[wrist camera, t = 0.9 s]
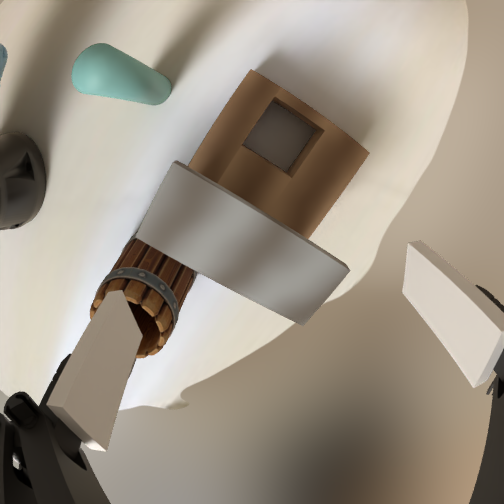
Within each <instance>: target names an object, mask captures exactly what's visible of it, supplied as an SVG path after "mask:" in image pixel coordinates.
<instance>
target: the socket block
mask: <svg viewBox="0 0 504 504" xmlns="http://www.w3.org/2000/svg"><path fill="white" fill-rule="evenodd" d="M271 101H274V102H275V103H277V104H278V105H280V106H281V107H283V108H285V109H286V110H288V111H289V112H291V113H292V114H294V115H295V116H297V117H298V118H300V119H301V120H302V121H304V122H305V123H307V124H308V125H310V126H311V127H312V128H314V129H315V130H316V131H315V132H314V134H313V135H312V137H311V138H310V140H309V141H308V142H307V144H306V145H305V147H304V148H303V150H302V151H301V153H300V154H299V155H298V157H297V158H296V160H295V161H294V163H293V164H292V166H291V167H290V168H289V170H288V171H287V173H286V172H285V171H283V170H282V169H280V168H279V167H277V166H276V165H274V164H273V163H271V162H269V161H268V160H266V159H265V158H263V157H262V156H260V155H258V154H257V153H255V152H254V151H252V150H250V149H249V148H247V147H245V146H244V145H242V144H243V142H244V141H245V139H246V138H247V136H248V135H249V133H250V132H251V130H252V129H253V127H254V126H255V124H256V123H257V121H258V120H259V118H260V117H261V115H262V114H263V113H264V111H265V110H266V108H267V107H268V105H269V104H270V102H271ZM368 155H369V152H368V151H367V150H366V149H365V148H364V147H362V146H361V145H360V144H359V143H358V142H356V141H355V140H354V139H353V138H351V137H350V136H349V135H348V134H346V133H345V132H344V131H343V130H341V129H340V128H339V127H337V126H336V125H335V124H333V123H332V122H331V121H329V120H328V119H327V118H325V117H324V116H323V115H321V114H320V113H318V112H317V111H316V110H314V109H313V108H311V107H310V106H309V105H307V104H306V103H304V102H303V101H301V100H300V99H298V98H297V97H295V96H294V95H292V94H291V93H289V92H288V91H286V90H285V89H283V88H282V87H280V86H278V85H277V84H275V83H274V82H272V81H270V80H269V79H267V78H265V77H264V76H262V75H260V74H259V73H257V72H255V71H253V70H252V69H251V70H250V71H249V72H248V74H247V75H246V77H245V78H244V79H243V81H242V82H241V84H240V85H239V86H238V88H237V89H236V91H235V92H234V94H233V95H232V97H231V98H230V100H229V101H228V103H227V104H226V106H225V107H224V109H223V110H222V112H221V113H220V115H219V116H218V118H217V119H216V121H215V122H214V124H213V125H212V127H211V129H210V130H209V132H208V133H207V135H206V137H205V138H204V140H203V142H202V143H201V145H200V146H199V148H198V150H197V151H196V153H195V155H194V156H193V158H192V160H191V162H190V163H189V165H188V166H186V165H184V164H182V163H181V162H179V161H177V160H176V161H175V162H173V163H172V165H171V167H170V169H169V170H168V172H167V174H166V176H165V178H164V180H163V182H162V184H161V185H160V187H159V189H158V191H157V193H156V195H155V197H154V199H153V201H152V203H151V205H150V207H149V209H148V211H147V213H146V215H145V217H144V219H143V221H142V224H141V226H140V228H139V230H138V232H137V234H136V236H135V237H136V238H138V239H140V240H141V241H143V242H145V243H147V244H148V245H150V246H152V247H154V248H155V249H157V250H159V251H161V252H162V253H164V254H166V255H168V256H170V257H171V258H173V259H175V260H177V261H179V262H180V263H182V264H184V265H186V266H188V267H189V268H191V269H193V270H195V271H197V272H199V273H201V274H202V275H204V276H206V277H208V278H210V279H212V280H214V281H215V282H217V283H219V284H221V285H223V286H225V287H227V288H229V289H231V290H233V291H234V292H236V293H238V294H240V295H242V296H244V297H246V298H248V299H250V300H252V301H254V302H256V303H258V304H260V305H262V306H264V307H266V308H268V309H270V310H272V311H274V312H276V313H278V314H280V315H282V316H284V317H286V318H288V319H290V320H292V321H294V322H296V323H298V324H300V325H302V326H303V325H304V324H305V323H306V322H307V321H308V320H309V319H310V318H311V316H312V315H313V314H314V313H315V312H316V311H317V310H318V309H319V307H320V306H321V305H322V304H323V303H324V302H325V300H326V299H327V298H328V297H329V296H330V295H331V293H332V292H333V291H334V290H335V289H336V287H337V286H338V285H339V284H340V283H341V281H342V280H343V279H344V278H345V277H346V275H347V274H348V273H349V272H350V269H349V268H348V266H347V265H346V264H345V263H344V262H342V261H340V260H339V259H337V258H336V257H334V256H333V255H331V254H330V253H328V252H327V251H325V250H324V249H322V248H321V247H319V246H318V245H316V244H314V243H313V242H311V241H310V240H308V239H309V237H310V236H311V235H312V233H313V232H314V231H315V229H316V228H317V227H318V225H319V224H320V222H321V221H322V220H323V218H324V217H325V216H326V214H327V213H328V211H329V210H330V209H331V207H332V206H333V205H334V203H335V202H336V200H337V199H338V198H339V196H340V195H341V193H342V192H343V191H344V189H345V188H346V186H347V185H348V184H349V182H350V181H351V179H352V178H353V176H354V175H355V174H356V172H357V171H358V169H359V168H360V166H361V165H362V164H363V162H364V161H365V159H366V158H367V156H368Z"/></svg>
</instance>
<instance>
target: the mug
mask: <svg viewBox="0 0 504 504" xmlns="http://www.w3.org/2000/svg"><path fill="white" fill-rule="evenodd" d="M136 234H137V233H136ZM136 234H135V235H133V236H132V237H131V238H130V240H129V241H128V243H127V244H126V245H125V247H124V248H123V250H122V253H121V255H120V257H119V259H118V260H117V262H116V263H115V265H114V267H113V268H112V270H111V271H110V273H109V274H108V275H107V276H106V277H105V279H104V280H103V282H102V283H101V285H100V286H99V288H98V290H97V292H96V295H95V299H94V300H93V303H92V305H91V309H90V319H92V318H93V316H94V314H95V313H96V311H97V309H98V308H99V306H100V305H101V303H102V301H103V300H104V298H105V297H106V295H107V293H108V292H111V291H118V290H122V291H123V293H124V296H125V298H126V300H127V303H128V305H129V307H130V309H131V312H132V314H133V316H134V318H135V321H136V323H137V325H138V327H139V329H140V331H141V333H142V336H143V337H142V339H141V342H140V345H139V348H138V351H137V354H136V356H135V359H134V362H133V365H132V368H131V371H130V374H131V372H132V369H133V367H134V364H135V361H136V358H145V357H146V356H148V355H155V354H156V353H158V352H159V351H160V350H161V349H162V348H163V346H164V345H165V344H166V342H167V340H168V338H169V337H170V336H171V334H172V332H173V330H174V328H175V325H176V323H177V320H178V315H179V312H180V309H181V307H182V305H183V302H184V300H185V298H186V295H187V293H188V292H189V291H190V289H191V287H192V285H193V283H194V281H195V278H196V274H197V271H195V270H193V269H191V268H189V267H188V266H186V265H184V264H182V263H180V262H179V261H177V260H175V259H173V258H171V257H170V256H168V255H166V254H164V253H162V252H161V251H159V250H157V249H155V248H154V247H152V246H150V245H148V244H147V243H145V242H143V241H141V240H140V239H138V238H136V237H135V236H136ZM130 374H129V376H130ZM128 378H129V377H128Z"/></svg>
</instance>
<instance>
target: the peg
mask: <svg viewBox="0 0 504 504" xmlns="http://www.w3.org/2000/svg"><path fill="white" fill-rule="evenodd" d="M72 82H73V85H74V87H75V88H76V89H77V90H78V91H79V92H81V93H83V94H90V95H97V96H104V97H110V98H116V99H122V100H128V101H133V102H139V103H144V104H149V105H158V104H161V103H163V102H164V101H165V100H167V98H168V97H169V95H170V93H171V83H170V81H169V79H168V78H166V77H165V76H163V75H162V74H160V73H158V72H157V71H155V70H153V69H152V68H150V67H148V66H147V65H145V64H143V63H141V62H140V61H138V60H136V59H134V58H133V57H131V56H129V55H127V54H125V53H124V52H122V51H120V50H118V49H116V48H114V47H112V46H110V45H108V44H105V43H99V44H94V45H92V46H90V47H88V48H87V49H85V50H84V51H83V52H82V53H81V54H80V55H79V56H78V58H77V59H76V61H75V63H74V66H73V69H72Z"/></svg>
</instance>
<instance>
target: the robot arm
mask: <svg viewBox="0 0 504 504" xmlns="http://www.w3.org/2000/svg"><path fill="white" fill-rule="evenodd" d="M7 55H8V54H7V50H6V48H5V47H4V46H3V45H2V44H0V81H1V77H2V74H3V71H4V68H5V65H6V62H7ZM45 184H46V179H45V169H44V164H43V160H42V157H41V154H40V152H39V150H38V148H37V146H36V144H35V143H34V142H33V140H32V139H31V138H30V137H28V136H27V135H25V134H23V133H20V132H11V133H6V134H2V135H0V230H6V229H15V228H19V227H21V226H23V225H25V224H26V223H28V222H29V221H31V220H32V219H33V218H34V217H35V216H36V215H37V213H38V212H39V210H40V208H41V205H42V203H43V199H44V194H45ZM403 294H404V295H405V297H406V298H407V299H408V300H409V301H410V303H411V304H412V305H413V306H414V308H415V309H416V310H417V311H418V313H419V314H420V315H421V316H422V318H423V319H424V320H425V321H426V323H427V324H428V325H429V327H430V328H431V329H432V331H433V332H434V333H435V334H436V336H437V337H438V338H439V340H440V341H441V342H442V344H443V345H444V347H445V348H446V349H447V351H448V352H449V353H450V355H451V356H452V358H453V359H454V360H455V361H456V363H457V365H458V366H459V368H460V369H461V370H462V372H463V373H464V375H465V376H466V378H467V379H468V381H469V382H470V384H471V385H472V387H473V388H475V387H476V386H478V385H480V384H482V383H484V382H485V381H487V380H488V378H489V376H490V375H491V373H492V371H493V370H494V371H495V372H496V374H497V375H496V377H495V379H494V381H493V382H492V384H491V386H490V387H489V389H488V391H487V394H489V393H490V392H491V390H492V388H493V394H492V395H493V400H492V408H491V416H490V423H489V429H488V435H487V440H486V445H485V450H484V454H483V458H482V463H481V466H480V470H479V474H478V477H477V481H476V484H475V487H474V491H473V494H472V497H471V499H470V503H469V504H504V306H503V305H502V304H500V302H499V301H498V300H497V299H495V298H494V296H493V295H492V294H491V293H489V292H488V291H487V290H485V289H484V288H482V287H480V286H478V285H474V284H473V283H471V282H470V281H469V280H468V279H467V278H466V277H465V276H464V275H462V274H461V273H460V272H459V271H458V270H457V269H455V268H454V267H453V266H452V265H451V264H450V263H448V262H447V261H446V260H445V259H444V258H442V257H441V256H440V255H439V254H437V253H436V252H435V251H434V250H432V249H431V248H430V247H429V246H427V245H426V244H425V243H424V242H422V241H421V240H420V241H415V242H410V243H408V248H407V259H406V268H405V277H404V285H403ZM142 337H143V336H142V333H141V331H140V329H139V327H138V325H137V323H136V321H135V318H134V316H133V314H132V312H131V309H130V307H129V305H128V303H127V300H126V298H125V296H124V293H123V291H122V290H118V291H111V292H108V293H107V295H106V297H105V298H104V300H103V301H102V303H101V305H100V306H99V308H98V309H97V311H96V313H95V314H94V316H93V318H92V319H91V321H90V323H89V324H88V326H87V328H86V330H85V331H84V333H83V335H82V336H81V338H80V340H79V342H78V344H77V345H76V347H75V349H74V351H73V353H72V354H69V355H68V356H67V357H66V358H65V359H64V360H63V361H62V362H61V364H60V365H59V367H58V369H57V371H56V372H57V373H55V375H54V377H53V379H52V380H53V381H51V382H50V384H49V386H48V388H47V390H46V392H45V394H44V396H43V399H42V401H41V403H40V405H39V406H38V405H37V404H36V403H35V402H34V401H33V399H32V398H31V397H30V396H29V395H28V394H27V393H25V392H17V393H15V394H13V395H12V396H11V397H10V398H9V399H8V400H7V402H6V404H5V406H4V413H5V414H6V415H7V417H8V418H9V419H10V420H11V421H9V420H8V419H7V418H6V417H5V416H4V415H3V414H1V413H0V504H111V503H110V502H109V500H108V498H107V496H106V495H105V493H104V491H103V489H102V488H101V486H100V484H99V482H98V480H97V478H96V477H95V474H94V472H93V470H92V468H91V466H90V464H89V462H88V460H87V457H86V455H85V453H84V451H83V450H82V449H81V448H80V445H81V441H82V442H84V443H85V444H86V445H87V446H88V447H89V448H90V449H95V450H100V451H107V449H108V445H109V441H110V437H111V434H112V430H113V427H114V423H115V419H116V416H117V413H118V409H119V406H120V403H121V399H122V396H123V393H124V390H125V387H126V384H127V380H128V377H129V374H130V371H131V368H132V365H133V362H134V359H135V356H136V354H137V351H138V348H139V345H140V342H141V339H142ZM13 460H14V461H16V462H17V463H18V464H19V469H17V468H15V467H14V466H13Z"/></svg>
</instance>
